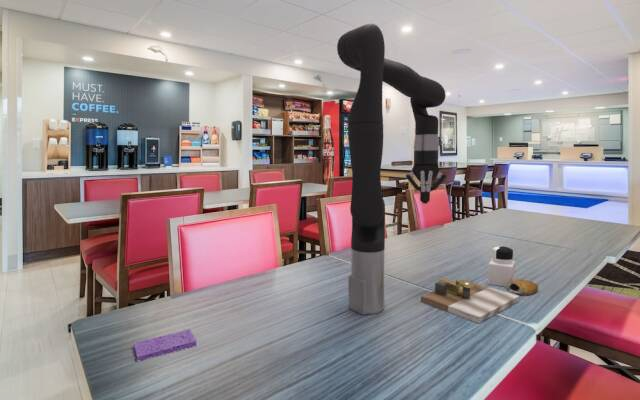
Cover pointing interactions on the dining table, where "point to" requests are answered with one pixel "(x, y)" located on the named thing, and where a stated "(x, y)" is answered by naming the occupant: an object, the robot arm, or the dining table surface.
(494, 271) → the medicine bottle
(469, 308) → the door board
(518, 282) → the pastry
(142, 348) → the sponges
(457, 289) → the latch bar
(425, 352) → the dining table surface
